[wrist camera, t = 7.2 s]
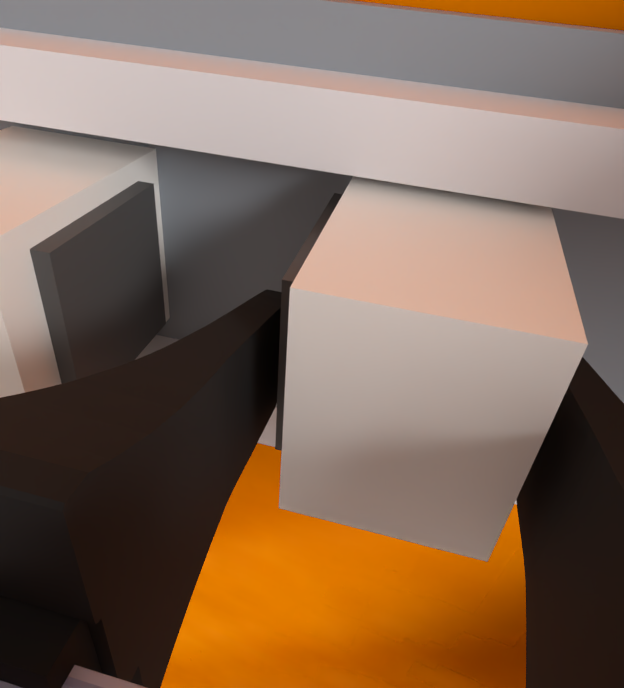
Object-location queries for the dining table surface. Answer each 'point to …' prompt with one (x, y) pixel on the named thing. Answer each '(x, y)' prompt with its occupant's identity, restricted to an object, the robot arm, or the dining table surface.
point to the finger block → (422, 361)
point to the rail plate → (274, 157)
